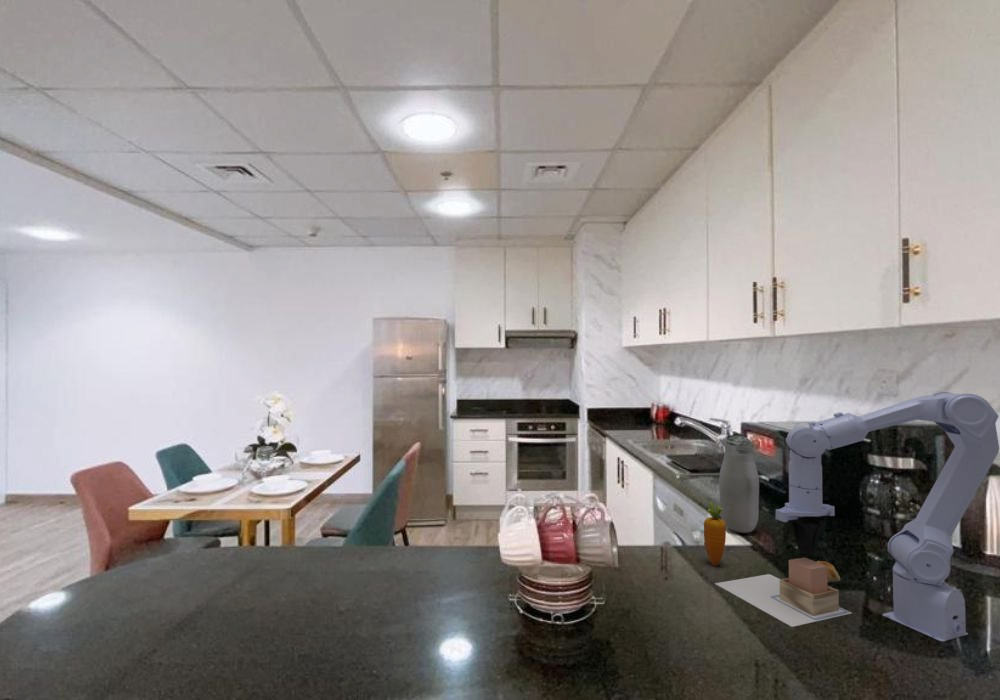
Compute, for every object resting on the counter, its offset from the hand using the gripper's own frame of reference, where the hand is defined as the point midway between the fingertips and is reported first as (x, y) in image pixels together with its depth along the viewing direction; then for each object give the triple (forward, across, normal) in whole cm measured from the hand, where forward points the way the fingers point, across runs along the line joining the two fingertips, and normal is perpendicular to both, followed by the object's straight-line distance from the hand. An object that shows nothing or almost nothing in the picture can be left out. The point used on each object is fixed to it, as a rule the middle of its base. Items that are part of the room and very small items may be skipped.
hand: (805, 553), depth 94 cm
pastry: (+10, -14, -7) cm, 19 cm away
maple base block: (+9, +1, +1) cm, 9 cm away
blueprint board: (+10, +4, -3) cm, 11 cm away
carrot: (+10, +4, -20) cm, 23 cm away
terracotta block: (+6, +1, +1) cm, 6 cm away
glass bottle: (+10, -24, -37) cm, 45 cm away
